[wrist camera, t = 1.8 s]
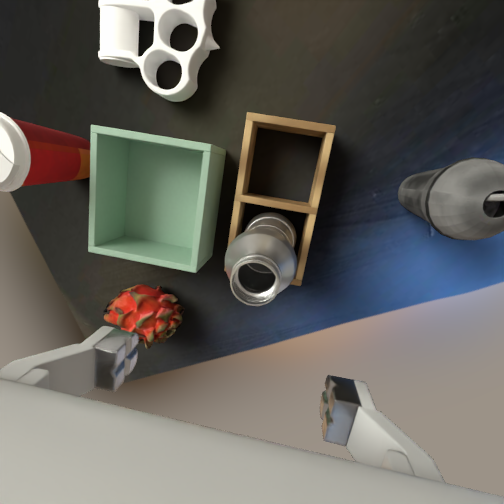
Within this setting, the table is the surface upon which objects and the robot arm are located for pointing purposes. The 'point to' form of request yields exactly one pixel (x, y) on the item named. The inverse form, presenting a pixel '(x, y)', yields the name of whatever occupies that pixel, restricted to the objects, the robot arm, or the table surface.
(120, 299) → the dragon fruit
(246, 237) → the silver metal bottle
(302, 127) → the rack
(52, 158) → the paper cup
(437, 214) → the beverage cup
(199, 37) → the knuckle duster
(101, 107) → the table surface
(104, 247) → the open storage box
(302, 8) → the table surface
